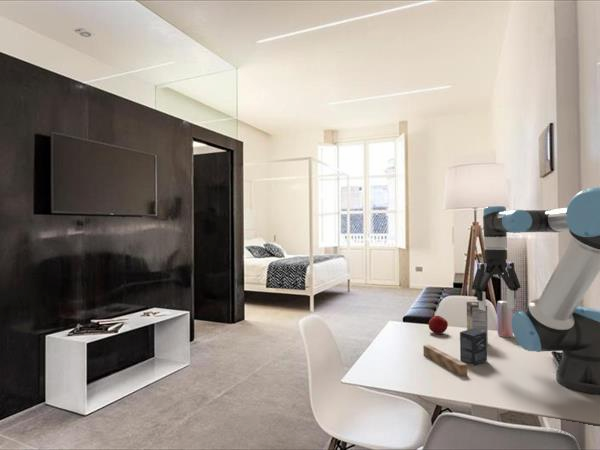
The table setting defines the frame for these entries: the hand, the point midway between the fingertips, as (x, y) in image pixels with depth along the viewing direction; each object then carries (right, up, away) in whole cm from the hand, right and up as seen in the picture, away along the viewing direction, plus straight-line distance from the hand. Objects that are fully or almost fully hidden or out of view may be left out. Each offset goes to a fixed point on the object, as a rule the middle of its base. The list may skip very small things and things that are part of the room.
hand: (496, 309), depth 138 cm
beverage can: (+19, -19, +30) cm, 40 cm away
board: (-21, -18, -5) cm, 28 cm away
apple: (-9, -19, +35) cm, 40 cm away
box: (-10, -18, -3) cm, 21 cm away
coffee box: (+3, -19, +21) cm, 28 cm away
